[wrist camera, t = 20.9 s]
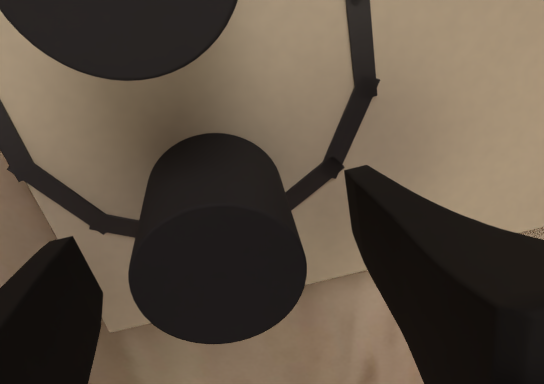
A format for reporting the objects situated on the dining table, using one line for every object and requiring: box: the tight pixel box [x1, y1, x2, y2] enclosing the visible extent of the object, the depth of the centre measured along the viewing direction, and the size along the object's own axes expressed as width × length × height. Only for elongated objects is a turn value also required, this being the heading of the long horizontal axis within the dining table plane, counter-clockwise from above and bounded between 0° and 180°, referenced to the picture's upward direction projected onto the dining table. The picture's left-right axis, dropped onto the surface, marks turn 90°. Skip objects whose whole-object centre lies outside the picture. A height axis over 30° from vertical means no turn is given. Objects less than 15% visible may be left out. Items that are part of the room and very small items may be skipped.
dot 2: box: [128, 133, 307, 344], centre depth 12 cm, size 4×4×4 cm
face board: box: [0, 0, 544, 333], centre depth 13 cm, size 20×16×1 cm
